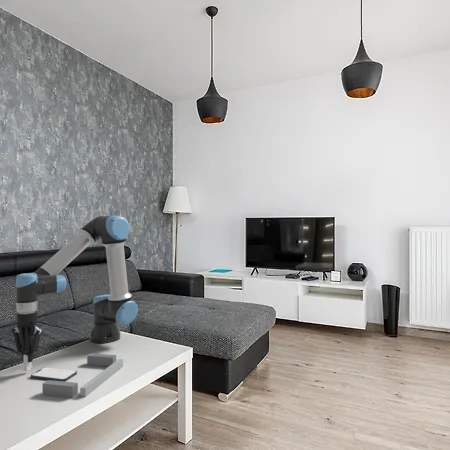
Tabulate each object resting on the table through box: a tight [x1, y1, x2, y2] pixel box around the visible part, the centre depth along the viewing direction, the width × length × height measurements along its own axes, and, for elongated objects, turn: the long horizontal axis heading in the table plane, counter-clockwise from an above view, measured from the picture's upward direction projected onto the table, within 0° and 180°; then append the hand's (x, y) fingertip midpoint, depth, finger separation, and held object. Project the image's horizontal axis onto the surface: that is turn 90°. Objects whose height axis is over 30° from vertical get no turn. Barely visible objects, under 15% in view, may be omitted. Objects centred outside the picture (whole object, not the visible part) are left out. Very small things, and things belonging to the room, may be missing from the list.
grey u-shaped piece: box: [42, 353, 124, 399], centre depth 146 cm, size 31×16×4 cm, turn 168°
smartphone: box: [30, 366, 78, 382], centre depth 149 cm, size 9×2×16 cm
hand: (27, 369), depth 151 cm, fingers closed
